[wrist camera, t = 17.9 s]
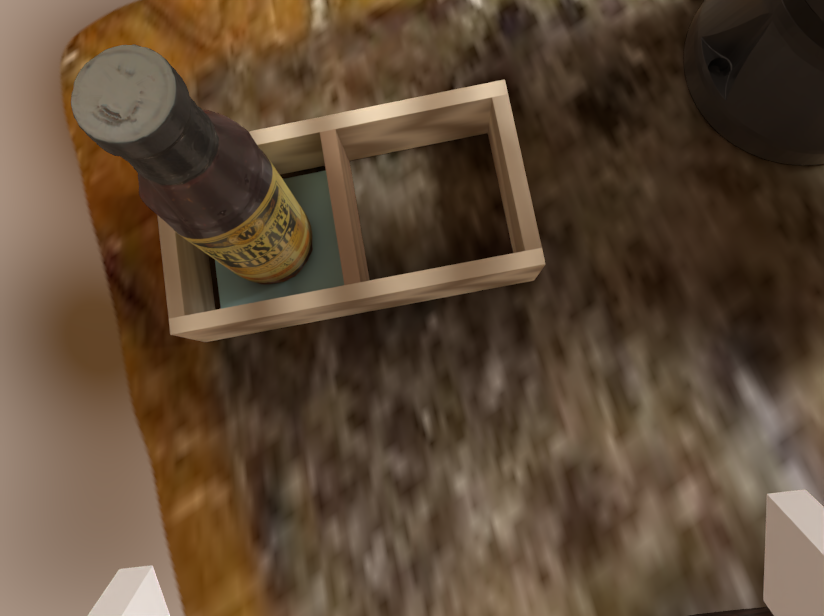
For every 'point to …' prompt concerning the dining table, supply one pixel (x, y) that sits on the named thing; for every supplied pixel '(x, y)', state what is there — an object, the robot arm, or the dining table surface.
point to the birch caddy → (355, 220)
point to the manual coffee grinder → (741, 612)
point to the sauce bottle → (193, 165)
